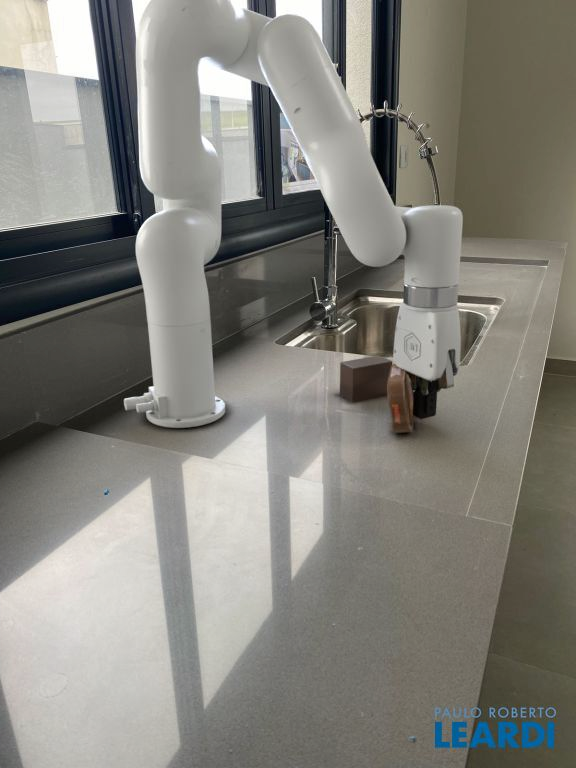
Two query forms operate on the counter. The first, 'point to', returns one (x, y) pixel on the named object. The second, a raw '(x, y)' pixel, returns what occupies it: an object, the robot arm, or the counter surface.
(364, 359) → the block
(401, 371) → the tin
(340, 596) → the counter surface
